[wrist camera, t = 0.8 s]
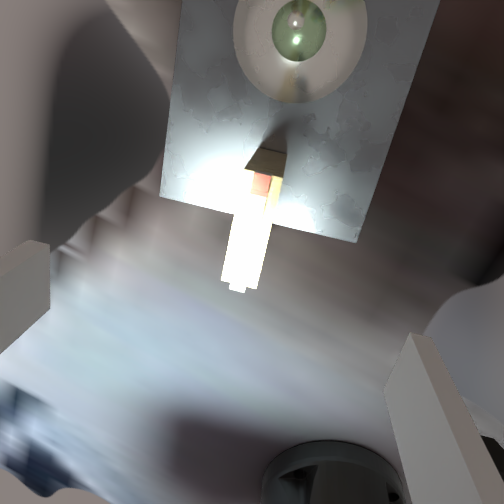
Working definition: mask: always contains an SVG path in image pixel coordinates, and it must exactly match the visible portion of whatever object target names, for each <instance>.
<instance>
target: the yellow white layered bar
mask: <svg viewBox="0 0 504 504" xmlns="http://www.w3.org/2000/svg"><path fill="white" fill-rule="evenodd" d="M287 155H288V154H283V153H279V152H275V151H271V150H266V149H262V148H257V150H256V151H255V153H254V154H253V156H252V157H251V159H250V160H249V162H248V163H247V165H246V166H245V168H244V170H243V175H242V180H241V185H240V190H239V195H238V200H237V205H236V209H235V214H234V219H233V224H232V229H231V234H230V239H229V244H228V249H227V254H226V259H225V264H224V269H223V274H222V279H221V280H222V281H226V282H230V283H231V284H230V289H232V290H237V291H241V292H244V291H245V287H246V286H247V287H251V288H255V289H256V287H257V283H258V279H259V275H260V271H261V266H262V262H263V258H264V254H265V250H266V246H267V242H268V238H269V234H270V230H271V226H272V222H273V218H274V214H275V209H276V205H277V201H278V197H279V193H280V189H281V185H282V181H283V176H284V171H285V166H286V160H287Z"/></svg>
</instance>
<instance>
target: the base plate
mask: <svg viewBox="0 0 504 504" xmlns="http://www.w3.org/2000/svg"><path fill="white" fill-rule="evenodd" d="M439 3H440V0H182V8H181V16H180V25H179V33H178V42H177V51H176V59H175V68H174V76H173V85H172V93H171V102H170V110H169V120H168V128H167V136H166V145H165V153H164V162H163V170H162V179H161V187H160V197H164V198H169V199H173V200H177V201H181V202H185V203H190V204H194V205H198V206H202V207H206V208H211V209H215V210H219V211H223V212H227V213H232V214H235V209H236V205H237V200H238V195H239V190H240V185H241V180H242V175H243V170H244V168H245V166H246V165H247V163H248V162H249V160H250V159H251V157H252V156H253V154H254V153H255V151H256V150H257V148H262V149H266V150H271V151H275V152H279V153H283V154H288V155H287V160H286V166H285V171H284V176H283V181H282V185H281V189H280V193H279V197H278V201H277V205H276V209H275V214H274V218H273V222H272V223H274V224H278V225H282V226H286V227H290V228H295V229H299V230H303V231H307V232H311V233H316V234H320V235H324V236H328V237H332V238H337V239H341V240H345V241H349V242H353V243H356V242H357V239H358V236H359V234H360V231H361V228H362V225H363V222H364V219H365V216H366V213H367V210H368V208H369V205H370V202H371V199H372V196H373V193H374V190H375V187H376V184H377V182H378V179H379V176H380V173H381V170H382V167H383V164H384V161H385V159H386V156H387V153H388V150H389V147H390V144H391V141H392V138H393V135H394V133H395V130H396V127H397V124H398V121H399V118H400V115H401V112H402V109H403V107H404V104H405V101H406V98H407V95H408V92H409V89H410V86H411V84H412V81H413V78H414V75H415V72H416V69H417V66H418V63H419V60H420V58H421V55H422V52H423V49H424V46H425V43H426V40H427V37H428V34H429V32H430V29H431V26H432V23H433V20H434V17H435V14H436V11H437V8H438V6H439Z"/></svg>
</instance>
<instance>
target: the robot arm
mask: <svg viewBox="0 0 504 504" xmlns="http://www.w3.org/2000/svg"><path fill="white" fill-rule="evenodd" d="M49 309H50V245H48V244H44V243H40V242H36V241H32V240H28V241H26V242H24V243H23V244H21V245H19V246H18V247H16V248H14V249H13V250H11V251H9V252H7V253H6V254H4V255H3V256H1V257H0V354H1V353H2V352H3V351H4V350H5V349H7V348H8V347H9V346H10V345H11V344H12V343H13V342H14V341H15V340H16V339H17V338H19V337H20V336H21V335H22V334H23V333H24V332H25V331H26V330H27V329H28V328H29V327H31V326H32V325H33V324H34V323H35V322H36V321H37V320H38V319H39V318H40V317H42V316H43V315H44V314H45V313H46V312H47V311H48V310H49ZM383 393H384V397H385V401H386V405H387V409H388V413H389V416H390V420H391V424H392V428H393V432H394V436H395V439H396V443H397V447H398V451H399V455H400V459H401V462H402V466H403V470H404V474H405V478H406V482H407V485H408V489H409V493H410V497H411V501H412V504H504V449H503V448H502V447H501V446H500V445H499V444H498V443H497V442H496V441H495V439H493V438H489V437H485V436H481V435H480V434H479V432H478V430H477V428H476V426H475V424H474V422H473V420H472V418H471V416H470V414H469V412H468V410H467V408H466V406H465V404H464V402H463V400H462V398H461V396H460V394H459V392H458V390H457V388H456V386H455V384H454V382H453V380H452V378H451V377H450V374H449V372H448V370H447V368H446V367H445V364H444V362H443V360H442V358H441V356H440V354H439V352H438V350H437V348H436V347H435V344H434V342H433V340H432V338H431V337H427V336H423V335H419V334H415V333H409V335H408V337H407V339H406V341H405V344H404V346H403V348H402V350H401V352H400V354H399V357H398V359H397V361H396V363H395V365H394V367H393V370H392V372H391V374H390V376H389V378H388V380H387V383H386V385H385V387H384V389H383ZM261 504H406V501H405V497H404V493H403V489H402V485H401V482H400V479H399V477H398V475H397V473H396V472H395V470H394V469H393V468H392V467H391V466H390V465H389V464H388V463H387V462H386V461H385V460H384V459H383V458H381V457H380V456H378V455H377V454H375V453H373V452H371V451H369V450H367V449H365V448H362V447H359V446H356V445H353V444H348V443H343V442H334V441H320V442H311V443H306V444H302V445H299V446H296V447H293V448H291V449H289V450H287V451H285V452H283V453H282V454H280V455H279V456H277V457H276V458H275V459H274V460H273V461H272V462H271V463H270V465H269V466H268V467H267V469H266V471H265V473H264V476H263V481H262V491H261Z"/></svg>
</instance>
